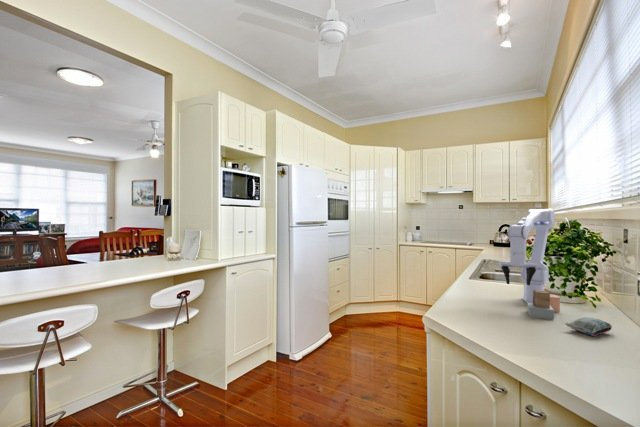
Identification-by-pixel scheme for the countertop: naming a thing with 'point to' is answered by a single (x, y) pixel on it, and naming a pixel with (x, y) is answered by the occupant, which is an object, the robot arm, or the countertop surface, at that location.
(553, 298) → the terracotta block
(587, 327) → the packaged food
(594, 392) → the countertop surface
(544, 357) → the countertop surface
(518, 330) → the countertop surface
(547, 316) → the slate base block
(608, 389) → the countertop surface
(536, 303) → the walnut block
